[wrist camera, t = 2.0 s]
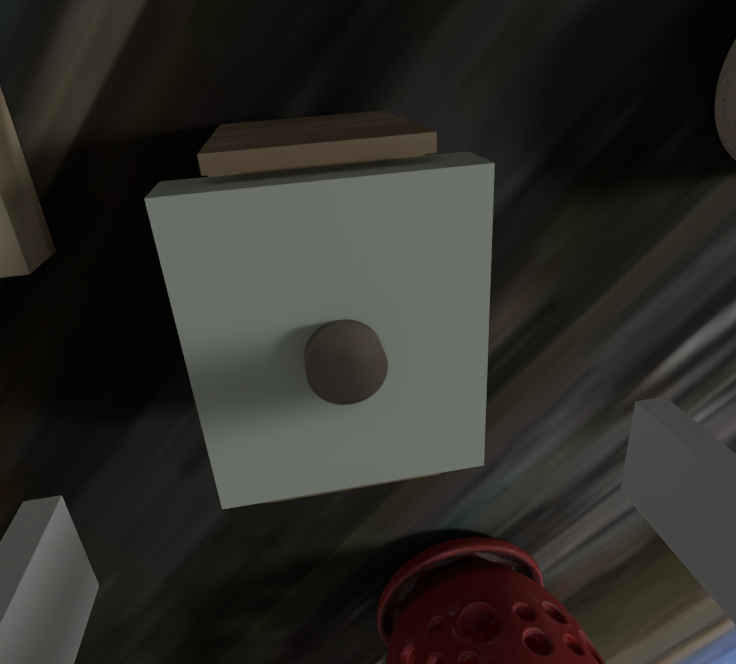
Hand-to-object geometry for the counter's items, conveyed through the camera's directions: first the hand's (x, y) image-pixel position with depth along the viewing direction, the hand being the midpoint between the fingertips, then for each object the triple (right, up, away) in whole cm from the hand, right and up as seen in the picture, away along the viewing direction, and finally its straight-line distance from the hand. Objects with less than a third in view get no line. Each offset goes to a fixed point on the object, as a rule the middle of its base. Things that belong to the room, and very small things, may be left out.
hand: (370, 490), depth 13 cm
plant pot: (+6, -14, +26) cm, 30 cm away
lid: (-1, +4, +7) cm, 9 cm away
